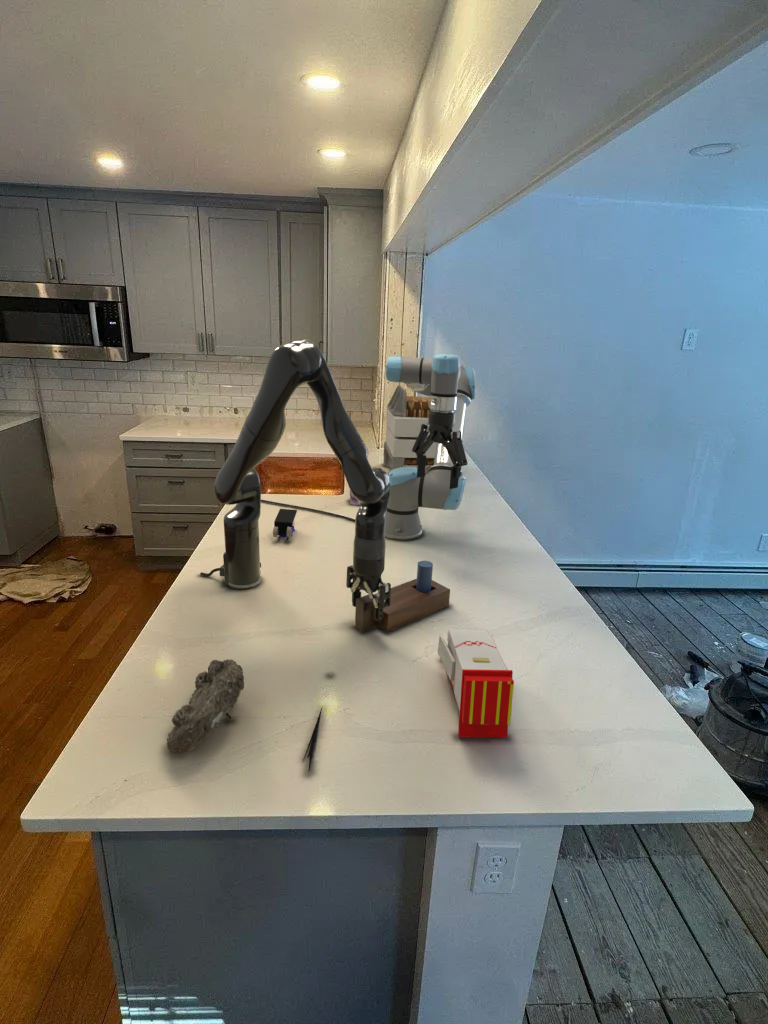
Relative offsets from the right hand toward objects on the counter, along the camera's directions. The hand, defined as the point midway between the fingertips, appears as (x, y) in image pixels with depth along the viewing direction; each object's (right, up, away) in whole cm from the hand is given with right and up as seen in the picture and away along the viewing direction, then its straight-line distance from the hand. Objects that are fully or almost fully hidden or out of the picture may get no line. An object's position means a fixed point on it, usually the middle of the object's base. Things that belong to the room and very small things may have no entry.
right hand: (436, 482), depth 168 cm
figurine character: (-49, -17, +25) cm, 58 cm away
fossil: (-48, -48, -60) cm, 91 cm away
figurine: (-26, -5, +62) cm, 67 cm away
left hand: (-20, -34, -29) cm, 49 cm away
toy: (+2, -46, -50) cm, 68 cm away
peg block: (-12, -35, -21) cm, 43 cm away
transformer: (+2, +10, +106) cm, 107 cm away
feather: (-28, -49, -60) cm, 82 cm away
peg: (-5, -34, -15) cm, 37 cm away
